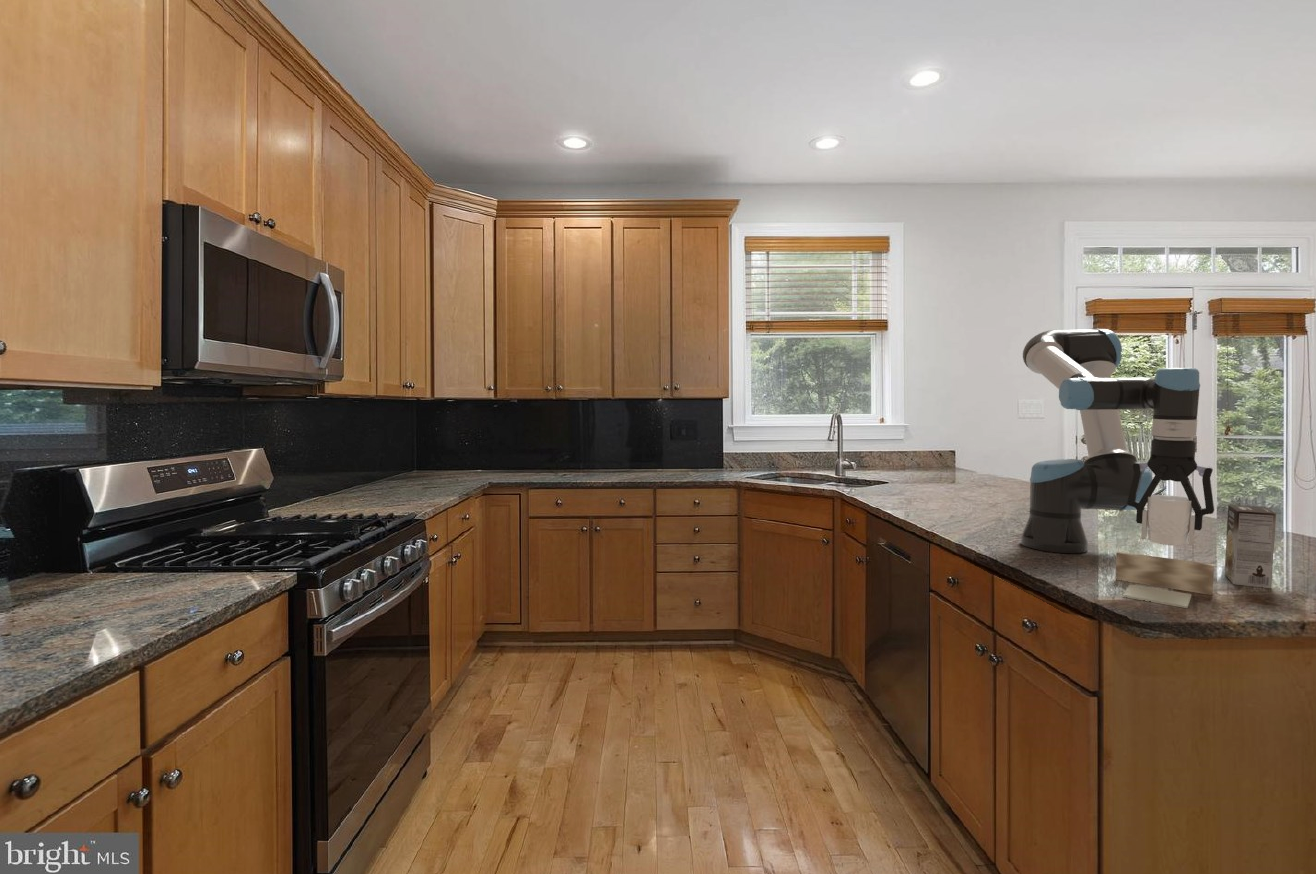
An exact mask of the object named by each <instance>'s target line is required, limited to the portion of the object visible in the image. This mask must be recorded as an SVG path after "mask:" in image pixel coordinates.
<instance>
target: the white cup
mask: <svg viewBox="0 0 1316 874" xmlns="http://www.w3.org/2000/svg"><path fill="white" fill-rule="evenodd" d="M1146 507H1147V508H1146V509H1147V519H1148V528H1147V540H1148V541H1149V542H1152V543H1154V544H1158V545H1163V546H1164V545H1165V546H1174V547H1178V546H1179V547H1182V546H1183V547H1184V546H1187V544H1188V543H1189V530H1190V515H1192V514H1193V508H1192V506H1191V501H1189V499H1188V497H1187V496H1186V497H1185V496H1180V495H1169V494H1152V495H1151V497H1148V501H1147V503H1146Z"/></svg>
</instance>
